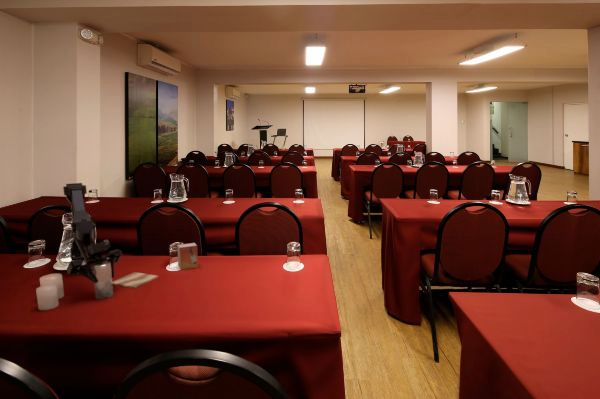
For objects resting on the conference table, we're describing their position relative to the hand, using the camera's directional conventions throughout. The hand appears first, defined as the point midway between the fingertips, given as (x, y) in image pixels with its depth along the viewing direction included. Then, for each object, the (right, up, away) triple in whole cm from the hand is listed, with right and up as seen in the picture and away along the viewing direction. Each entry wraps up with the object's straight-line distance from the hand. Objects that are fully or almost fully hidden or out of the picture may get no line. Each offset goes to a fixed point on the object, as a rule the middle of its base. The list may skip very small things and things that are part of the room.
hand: (105, 279), depth 142 cm
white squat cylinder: (-17, -8, -7) cm, 20 cm away
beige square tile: (+4, -4, +17) cm, 18 cm away
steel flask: (-1, -6, +2) cm, 7 cm away
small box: (+21, -1, +33) cm, 40 cm away
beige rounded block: (-20, -7, +1) cm, 21 cm away
